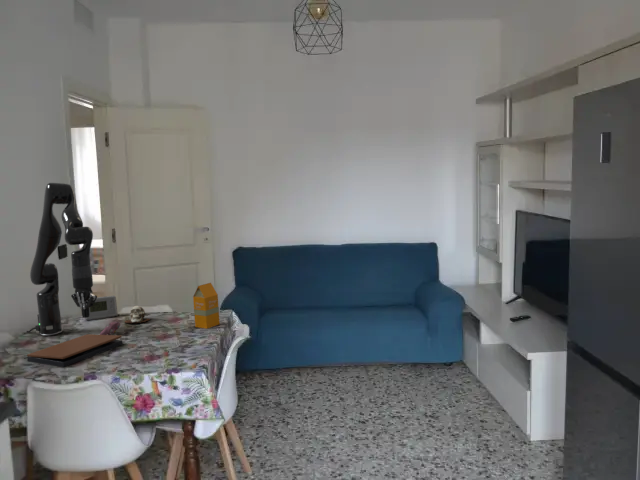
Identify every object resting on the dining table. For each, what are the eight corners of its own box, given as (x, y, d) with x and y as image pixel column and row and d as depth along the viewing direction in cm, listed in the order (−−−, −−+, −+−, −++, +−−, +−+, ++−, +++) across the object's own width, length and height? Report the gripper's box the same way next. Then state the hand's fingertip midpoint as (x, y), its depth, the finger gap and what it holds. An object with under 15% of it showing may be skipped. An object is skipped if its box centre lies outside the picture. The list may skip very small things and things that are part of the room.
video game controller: (106, 340, 257) (111, 327, 255) (98, 336, 257) (103, 323, 256) (118, 334, 266) (123, 321, 265) (110, 330, 267) (115, 317, 266)
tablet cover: (121, 337, 244) (121, 335, 244) (63, 359, 218) (62, 357, 218) (87, 336, 254) (87, 334, 254) (27, 356, 227) (26, 354, 227)
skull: (148, 321, 277) (132, 307, 276) (133, 336, 278) (118, 321, 277) (154, 314, 289) (139, 301, 288) (140, 328, 290) (126, 315, 289)
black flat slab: (122, 344, 245) (122, 340, 245) (63, 367, 218) (63, 362, 218) (87, 339, 254) (87, 335, 254) (27, 361, 228) (27, 356, 227)
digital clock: (83, 321, 289) (81, 300, 287) (86, 317, 297) (84, 297, 296) (116, 318, 292) (115, 297, 291) (119, 314, 301) (117, 294, 300)
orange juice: (219, 324, 272) (217, 283, 269) (207, 328, 264) (204, 286, 262) (207, 322, 276) (205, 281, 273) (194, 326, 268) (191, 285, 266)
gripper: (101, 275, 231) (104, 316, 233) (78, 273, 237) (82, 313, 239) (86, 278, 225) (89, 321, 227) (63, 276, 231) (67, 318, 233)
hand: (85, 317), depth 233 cm, fingers closed
